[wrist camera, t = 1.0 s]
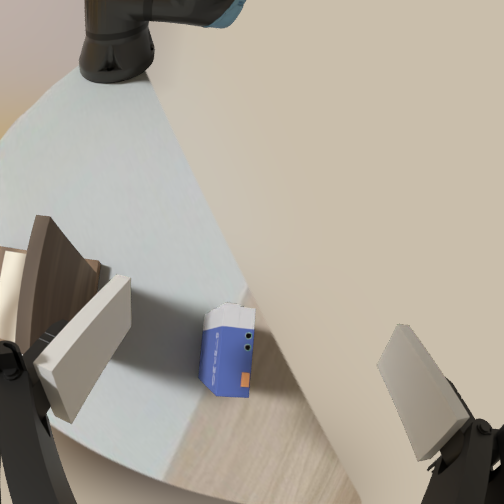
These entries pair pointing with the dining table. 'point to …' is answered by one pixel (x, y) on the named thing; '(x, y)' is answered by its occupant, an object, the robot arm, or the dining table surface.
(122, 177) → the dining table surface
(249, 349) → the walkman
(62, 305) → the book end
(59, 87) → the dining table surface
